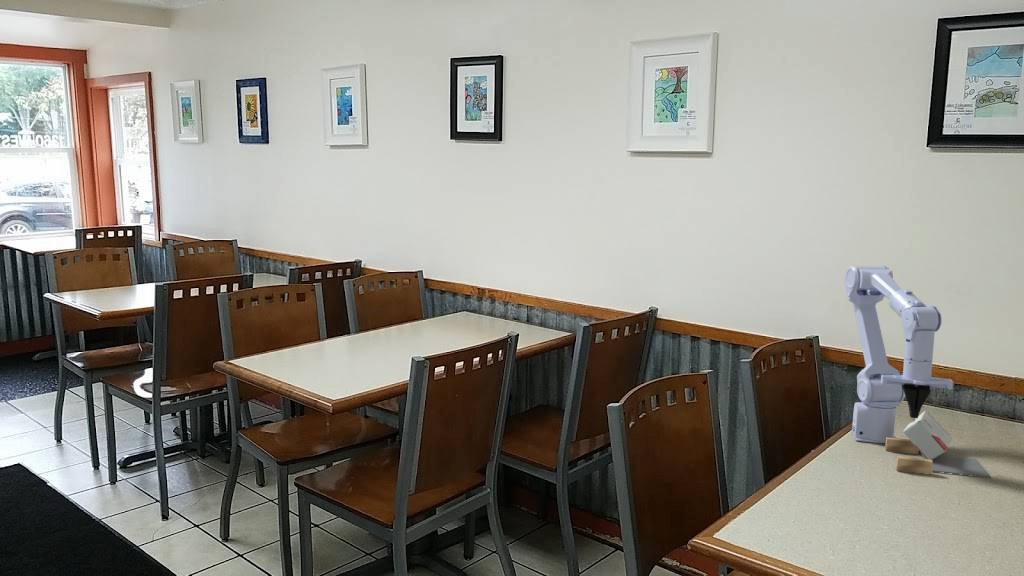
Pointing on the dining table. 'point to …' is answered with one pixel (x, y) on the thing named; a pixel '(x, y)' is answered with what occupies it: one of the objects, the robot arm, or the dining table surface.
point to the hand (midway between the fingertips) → (913, 416)
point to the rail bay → (905, 462)
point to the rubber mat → (958, 466)
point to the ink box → (928, 435)
